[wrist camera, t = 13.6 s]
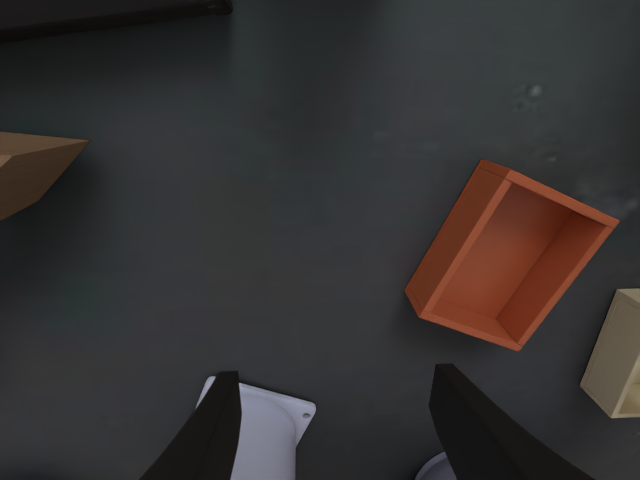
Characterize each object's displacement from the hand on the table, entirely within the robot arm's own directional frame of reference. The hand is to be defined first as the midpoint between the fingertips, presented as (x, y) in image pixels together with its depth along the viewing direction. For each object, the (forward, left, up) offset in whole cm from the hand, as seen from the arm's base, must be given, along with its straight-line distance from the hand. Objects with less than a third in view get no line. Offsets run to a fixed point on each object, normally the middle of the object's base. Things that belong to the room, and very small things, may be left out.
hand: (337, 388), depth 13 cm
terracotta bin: (+5, -9, -9) cm, 14 cm away
